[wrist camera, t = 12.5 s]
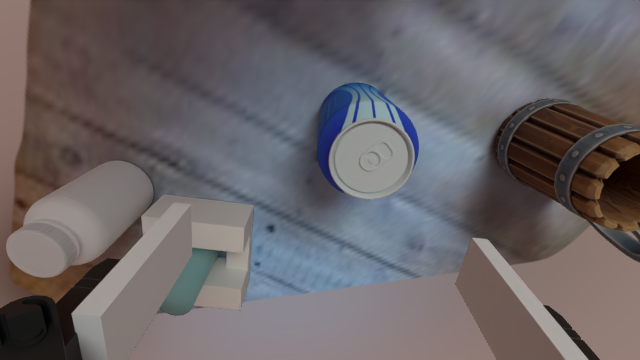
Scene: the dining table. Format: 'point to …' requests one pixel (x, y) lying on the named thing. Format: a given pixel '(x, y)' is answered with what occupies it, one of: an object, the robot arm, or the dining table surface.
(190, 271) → the peg
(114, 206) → the pill bottle
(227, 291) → the socket
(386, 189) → the beer can
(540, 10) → the dining table surface
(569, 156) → the mug
